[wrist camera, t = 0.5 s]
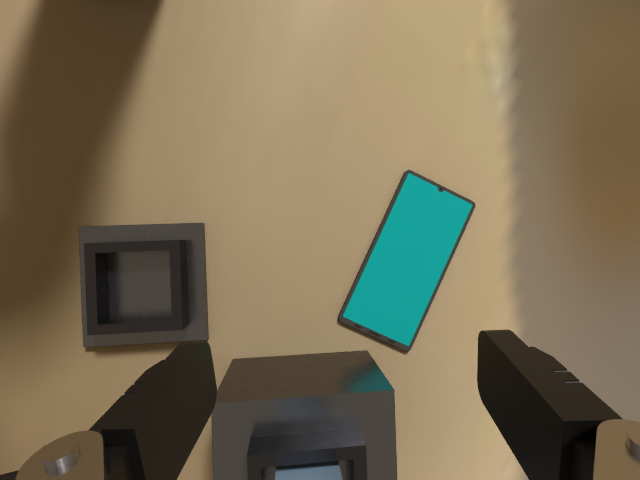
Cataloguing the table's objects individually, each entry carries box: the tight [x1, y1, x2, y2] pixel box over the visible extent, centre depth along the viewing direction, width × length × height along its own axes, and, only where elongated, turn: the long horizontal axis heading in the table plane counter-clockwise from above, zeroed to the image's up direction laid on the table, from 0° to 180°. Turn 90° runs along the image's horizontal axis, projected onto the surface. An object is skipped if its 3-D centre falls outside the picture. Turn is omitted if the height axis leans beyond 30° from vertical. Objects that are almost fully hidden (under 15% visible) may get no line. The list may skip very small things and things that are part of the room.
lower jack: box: [79, 223, 209, 347], centre depth 28 cm, size 10×10×2 cm
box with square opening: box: [211, 351, 397, 480], centre depth 25 cm, size 12×12×10 cm
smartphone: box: [338, 170, 475, 351], centre depth 31 cm, size 7×1×15 cm
